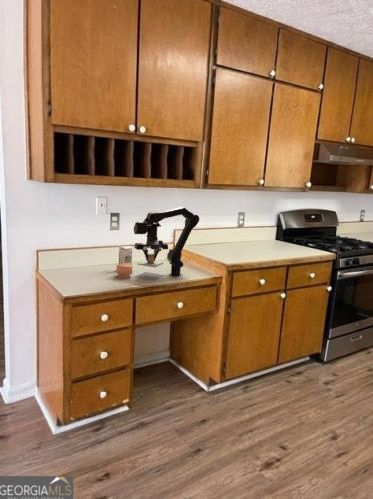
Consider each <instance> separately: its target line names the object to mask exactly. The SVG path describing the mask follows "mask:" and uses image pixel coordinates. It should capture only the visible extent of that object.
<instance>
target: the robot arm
mask: <svg viewBox="0 0 373 499" xmlns="http://www.w3.org/2000/svg"><path fill="white" fill-rule="evenodd" d="M177 216H182V217H183V218H185V220H184V227H183V229H182V231H181V233H180V236H179V238H178V240H177V242H176V244H175V245H174V247H173V248H172V249H171V248H170V249H169V245H168V244H167V243H166V242H163V241H164V240H158V239H159V238H158V227H162V225H161V224H160V223H159V222H161V221H163V220H164V219H168V218H172V217H177ZM199 222H200V216H199V215H198V214H195V213H193V212H191V211H190V210H188V209H187V208H186V207H183V206H180V207H176V208H172V209H168V210H167V209H166V210H163V211H150V212H148V213H147V214H146V218H144V220H143V221H142V222H139V221H136V222H135V224H134V226H133V234H134V235H146V242H145V244H144V243H142V242H135V243H134V245H133V246H134V249H136V250H137V251H139V250H140V251H142V252H143V255H144V257H145V260H146V261H148V254H149V250H148V249H151V250H153V254H154V261H156V259H157V256H158V254H159V253H160V252H161V251H163V250H168V253H166V256H167V257H166V259H167V261H168V262H169V264H170V265H171V266H170V273H169V274H168V276H172V277H181V276H182V275H183V273H181V272H182V271H181V268H183V266H184V263H183V261H182V260H181V259H182V251H183V248H184V246H185V245H186V243H187V241H188V239H189V236H190V235H191V233H192V230H193V229H194V228H195V227H197V225H198V224H199Z"/></svg>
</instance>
